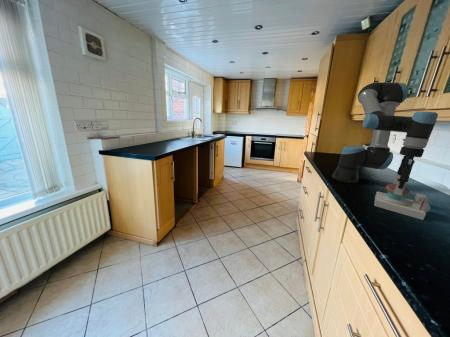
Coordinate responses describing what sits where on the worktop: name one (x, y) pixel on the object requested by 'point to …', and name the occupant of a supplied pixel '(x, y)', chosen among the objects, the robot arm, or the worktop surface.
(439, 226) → the worktop surface
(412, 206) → the scale
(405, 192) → the cupcake
